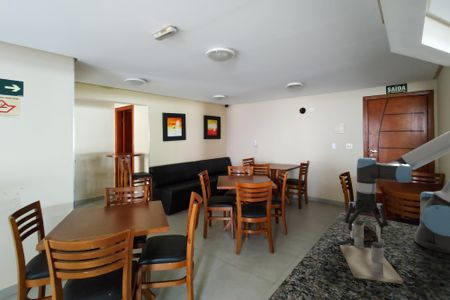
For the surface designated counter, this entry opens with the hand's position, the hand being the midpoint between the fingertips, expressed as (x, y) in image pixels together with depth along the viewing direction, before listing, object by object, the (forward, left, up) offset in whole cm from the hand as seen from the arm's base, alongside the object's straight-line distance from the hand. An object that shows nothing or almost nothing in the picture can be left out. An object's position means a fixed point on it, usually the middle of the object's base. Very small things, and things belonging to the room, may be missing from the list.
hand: (364, 238), depth 101 cm
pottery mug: (0, 0, -1) cm, 1 cm away
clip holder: (+6, +21, 0) cm, 22 cm away
